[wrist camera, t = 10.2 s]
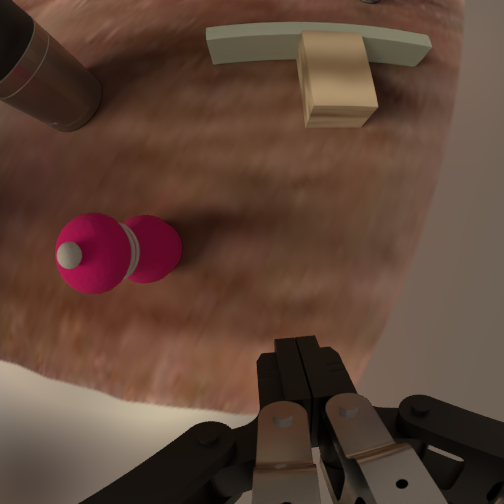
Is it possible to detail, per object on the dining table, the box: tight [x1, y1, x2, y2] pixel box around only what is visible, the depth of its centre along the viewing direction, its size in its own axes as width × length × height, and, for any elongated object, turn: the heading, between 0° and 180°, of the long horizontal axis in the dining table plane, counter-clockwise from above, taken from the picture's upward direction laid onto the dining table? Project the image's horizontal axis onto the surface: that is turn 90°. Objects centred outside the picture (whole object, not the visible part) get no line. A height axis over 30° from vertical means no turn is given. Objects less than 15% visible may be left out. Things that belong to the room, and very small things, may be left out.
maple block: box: [296, 30, 378, 128], centre depth 33 cm, size 10×7×7 cm
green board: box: [206, 22, 432, 67], centre depth 33 cm, size 28×2×6 cm, turn 94°
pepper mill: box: [55, 213, 182, 294], centre depth 28 cm, size 7×7×20 cm
